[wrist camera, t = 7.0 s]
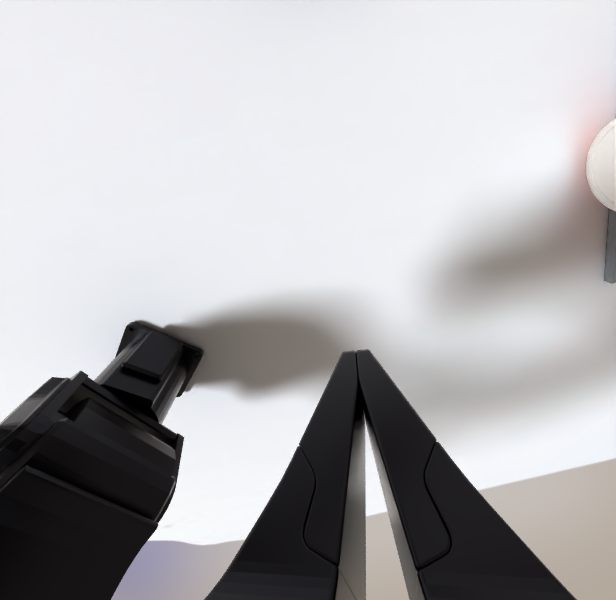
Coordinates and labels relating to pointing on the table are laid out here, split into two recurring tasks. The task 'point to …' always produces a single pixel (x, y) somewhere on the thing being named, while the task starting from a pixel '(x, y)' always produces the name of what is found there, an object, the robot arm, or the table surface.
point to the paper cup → (603, 166)
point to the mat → (611, 249)
